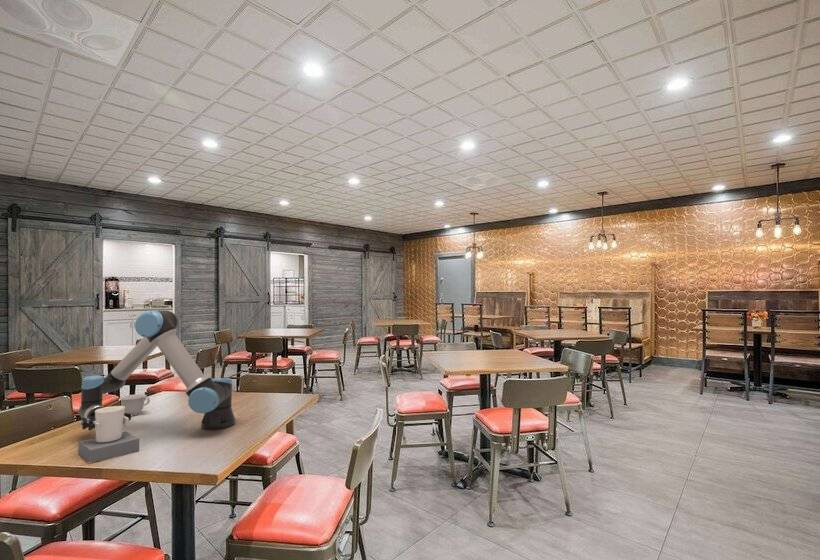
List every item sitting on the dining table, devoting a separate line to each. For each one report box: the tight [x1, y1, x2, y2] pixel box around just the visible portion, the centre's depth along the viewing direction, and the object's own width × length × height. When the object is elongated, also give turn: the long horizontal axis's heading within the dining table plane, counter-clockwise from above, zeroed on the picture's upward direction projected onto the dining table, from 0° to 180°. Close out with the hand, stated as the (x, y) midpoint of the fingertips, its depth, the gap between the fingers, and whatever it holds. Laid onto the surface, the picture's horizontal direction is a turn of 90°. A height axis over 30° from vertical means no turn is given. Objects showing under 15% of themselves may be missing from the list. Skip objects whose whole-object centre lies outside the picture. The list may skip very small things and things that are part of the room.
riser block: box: [77, 431, 140, 464], centre depth 159 cm, size 16×16×5 cm
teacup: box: [119, 393, 151, 416], centre depth 215 cm, size 12×15×10 cm
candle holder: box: [95, 405, 125, 442], centre depth 159 cm, size 10×10×12 cm
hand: (113, 424), depth 157 cm, fingers closed on candle holder, 9 cm apart
